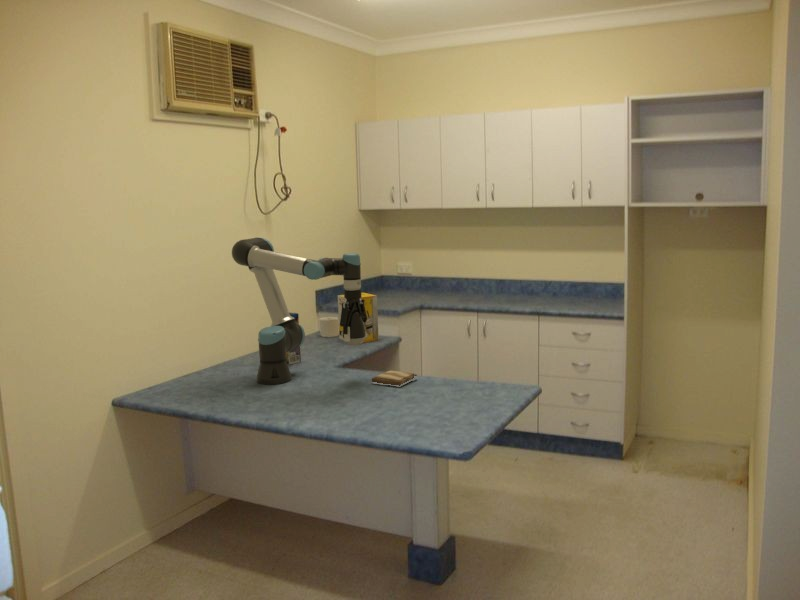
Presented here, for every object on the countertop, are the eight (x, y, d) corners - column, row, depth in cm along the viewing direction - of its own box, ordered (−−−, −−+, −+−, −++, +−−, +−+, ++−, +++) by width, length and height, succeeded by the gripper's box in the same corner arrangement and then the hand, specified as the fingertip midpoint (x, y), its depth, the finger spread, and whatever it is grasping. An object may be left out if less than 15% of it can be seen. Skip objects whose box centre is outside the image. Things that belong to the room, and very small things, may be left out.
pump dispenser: (363, 346, 315) (362, 312, 313) (340, 346, 317) (338, 312, 315) (368, 342, 325) (367, 308, 323) (346, 341, 327) (345, 308, 325)
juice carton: (300, 361, 358) (298, 313, 354) (288, 364, 353) (285, 315, 349) (286, 358, 367) (284, 311, 363) (274, 360, 362) (271, 313, 358)
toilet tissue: (333, 333, 429) (333, 316, 427) (343, 336, 419) (342, 318, 417) (317, 335, 423) (316, 318, 422) (326, 338, 413) (325, 321, 412)
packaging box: (378, 340, 404) (377, 295, 400) (352, 344, 396) (350, 298, 392) (365, 335, 418) (363, 292, 414) (339, 339, 410) (337, 295, 406)
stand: (399, 387, 305) (399, 380, 305) (372, 383, 313) (371, 377, 312) (416, 379, 317) (416, 373, 317) (389, 376, 324) (389, 369, 324)
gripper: (344, 293, 306) (346, 344, 309) (374, 286, 325) (375, 335, 328) (329, 292, 310) (332, 343, 313) (360, 285, 329) (362, 333, 332)
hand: (354, 339), depth 321 cm, fingers closed on pump dispenser, 10 cm apart
